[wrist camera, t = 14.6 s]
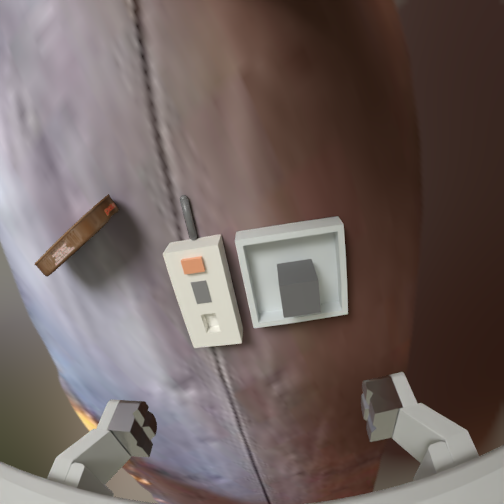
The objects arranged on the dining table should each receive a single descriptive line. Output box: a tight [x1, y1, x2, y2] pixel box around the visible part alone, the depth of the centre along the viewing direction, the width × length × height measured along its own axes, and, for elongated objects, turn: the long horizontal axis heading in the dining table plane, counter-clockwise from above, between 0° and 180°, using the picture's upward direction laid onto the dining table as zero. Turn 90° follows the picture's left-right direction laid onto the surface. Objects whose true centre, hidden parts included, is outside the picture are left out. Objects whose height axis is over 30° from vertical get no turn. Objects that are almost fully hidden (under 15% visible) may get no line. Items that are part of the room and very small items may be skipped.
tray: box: [235, 216, 348, 328], centre depth 42 cm, size 13×13×3 cm
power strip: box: [163, 195, 243, 348], centre depth 42 cm, size 21×7×4 cm, turn 10°
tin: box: [35, 194, 119, 276], centre depth 38 cm, size 15×3×8 cm, turn 123°
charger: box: [277, 259, 321, 318], centre depth 40 cm, size 4×4×7 cm
